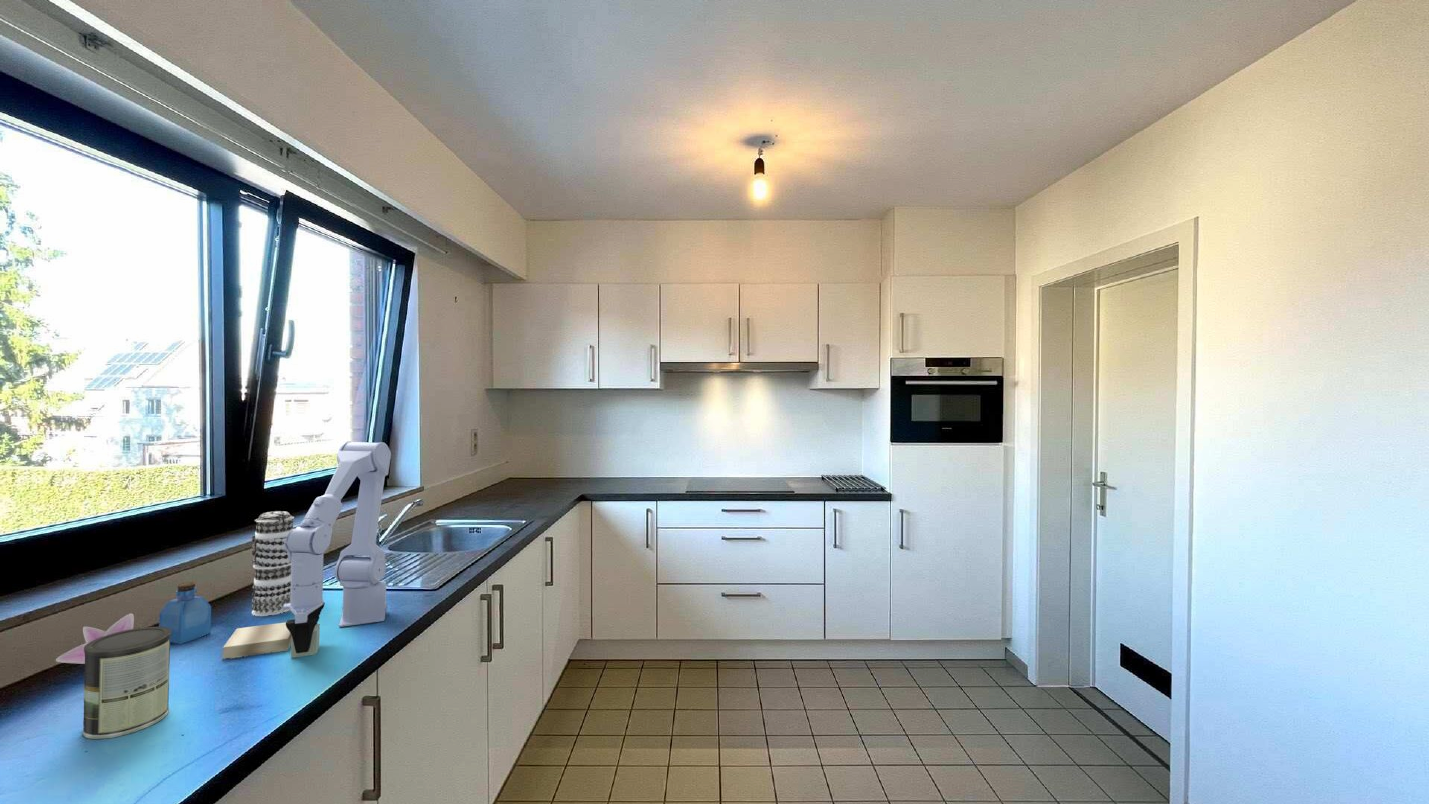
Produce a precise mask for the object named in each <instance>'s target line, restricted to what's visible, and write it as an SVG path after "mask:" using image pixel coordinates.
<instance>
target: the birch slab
mask: <svg viewBox="0 0 1429 804" xmlns="http://www.w3.org/2000/svg"><path fill="white" fill-rule="evenodd" d="M286 622H287V621H286ZM286 622H285V621H284V622H278V623H270V624H263V625H262V624H261V625H255V626H247V627H245V626H244V627H238V628H236V629H235V630H234V632H233V633H232V635H231V636H230V637H229V639H227V641H226V643H224V645H223V647H222V660H223V659H224V660H226V659H225V658H230V659H237V658H242V656H244V657H249V656H248V655H251V656H257V654H258V655H263V654H264V653H265V654H271V652H272V653H278V652H285V651H288V649H289V647H291V633H290V632H289V630H288V629H287V627H286ZM246 655H247V656H246ZM236 657H237V658H236Z"/></svg>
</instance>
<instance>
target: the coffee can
mask: <svg viewBox="0 0 1429 804" xmlns="http://www.w3.org/2000/svg"><path fill="white" fill-rule="evenodd" d="M170 636H171V630H170V629H169V628H166V627H159V626H144V627H137V628H133V629H130V630H125V631H120V632H116V633H113V634H109V635H106V636H103V637H100V638H98V639H95V640H93V641H91V642H89V643H88V644H86V645H85V647H84V653H85V664H84V678H83V679H84V682H83V683H84V684H83V687H84V689H83V690H84V691H83V724H82V725H83V729H82V736H83V737H84V738H87V739H90V740H104V739H112V738H113V739H114V738H117V737H122V736H126V735H130V734H133V733H135V732H138V731H141V730H145V729H147V728H149V727H151V726H153V725H155V724H157V723H159V722H160V721H162V720H163V719H164V718H166V716H167V715H168V714H169V711H170V707H169V695H170V693H169V692H170V658H171V657H170V654H171V643H170Z"/></svg>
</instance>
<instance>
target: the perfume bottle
mask: <svg viewBox="0 0 1429 804" xmlns="http://www.w3.org/2000/svg"><path fill="white" fill-rule="evenodd" d="M196 583H197V582H195V581H189V582H182V583H178V584H177V585H176V587H177V590H176V591H175V596H176V597H177V598H174V599H171V600H168V602H167V603H166V604H165V605H164V606H163V608H162V609H161V611H160V612H159V618H158V620H159V622H158V627H166V628H169V629H170V630H171V636H170V642H174V643H173V644H177V643H179V644H178V645H183V644H185V643H187V642H186V641H188V642H190V640H191V641H193V640H195V639H194V638H196V639H199V638H201V636H202V635H204V636H207V635H209V634H208V633H210V634H211V629H212V624H211V623H212V606H211V605H210V603H209V602H208V601H207V600H206V599H205V598H204V596H198V595H195V594H196V593H197V589H198V588H197V587H196ZM206 634H207V635H206ZM198 637H199V638H198ZM202 637H203V636H202ZM192 639H193V640H192ZM184 642H185V643H184Z"/></svg>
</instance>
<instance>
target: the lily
mask: <svg viewBox="0 0 1429 804" xmlns="http://www.w3.org/2000/svg"><path fill="white" fill-rule="evenodd" d="M134 624H135V615H134V614H133V613H128V614H126V615H124V616H123V617H121V618H119V619H118V620H117V621H116V622H114V623H113V624H112V625H111V626H110V627H108V628H107V629H106V630H103V629H99V628H96V627H91V626H83V627H82V634H83V639H84V640H85V643H83V644H80V645H79V646H75V647H73V648H72V649H70V650H68V651H66V652H64V653H62V654H61V655H59V656H57V657H56V658H55V662H57V663H61V664H62V663H63V664H64V663H65V664H80V665H81V664H82V665H83V664H84V665H85V653H84V647H85V645H86V644H88V643H89V642H91V641H93V640H95V639H98V638H100V637H103V636H106V635H109V634H113V633H116V632H120V631H125V630H130V629H134V627H135V626H134Z"/></svg>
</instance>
